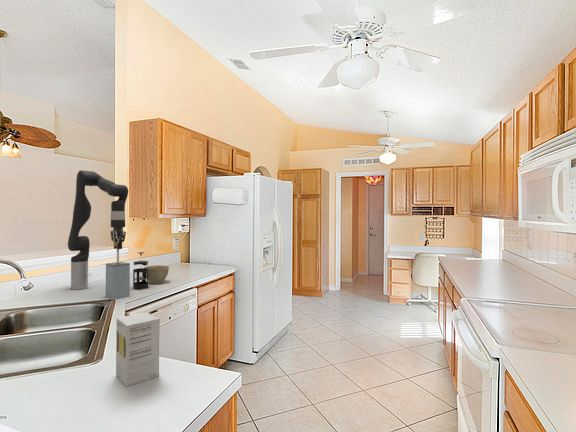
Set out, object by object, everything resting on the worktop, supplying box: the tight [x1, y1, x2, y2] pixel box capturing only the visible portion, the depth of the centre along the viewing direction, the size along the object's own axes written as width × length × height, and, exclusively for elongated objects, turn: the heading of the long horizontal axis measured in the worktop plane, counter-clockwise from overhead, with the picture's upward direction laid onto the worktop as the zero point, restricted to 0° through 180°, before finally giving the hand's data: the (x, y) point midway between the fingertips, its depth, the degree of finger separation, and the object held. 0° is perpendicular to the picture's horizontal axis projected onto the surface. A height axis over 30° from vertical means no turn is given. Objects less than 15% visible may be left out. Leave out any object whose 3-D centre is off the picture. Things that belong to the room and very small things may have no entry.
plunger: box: [113, 241, 120, 264], centre depth 187 cm, size 6×6×24 cm
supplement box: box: [115, 311, 161, 387], centre depth 95 cm, size 10×9×17 cm
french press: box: [132, 251, 150, 291], centre depth 210 cm, size 12×9×23 cm
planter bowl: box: [143, 265, 170, 285], centre depth 226 cm, size 16×16×11 cm
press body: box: [105, 261, 131, 300], centre depth 187 cm, size 9×9×19 cm
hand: (117, 248), depth 187 cm, fingers closed on plunger, 4 cm apart
